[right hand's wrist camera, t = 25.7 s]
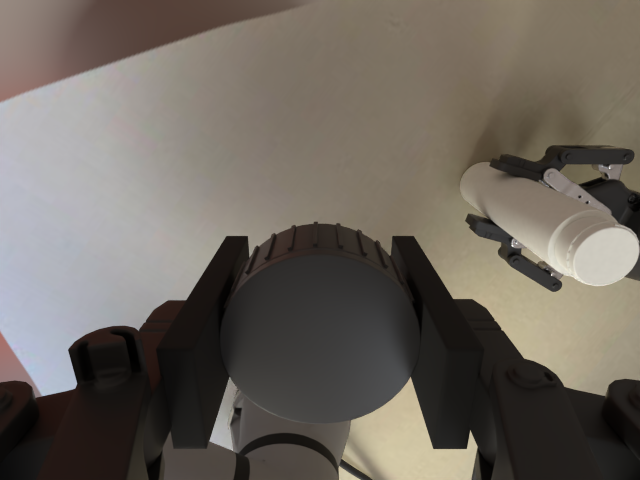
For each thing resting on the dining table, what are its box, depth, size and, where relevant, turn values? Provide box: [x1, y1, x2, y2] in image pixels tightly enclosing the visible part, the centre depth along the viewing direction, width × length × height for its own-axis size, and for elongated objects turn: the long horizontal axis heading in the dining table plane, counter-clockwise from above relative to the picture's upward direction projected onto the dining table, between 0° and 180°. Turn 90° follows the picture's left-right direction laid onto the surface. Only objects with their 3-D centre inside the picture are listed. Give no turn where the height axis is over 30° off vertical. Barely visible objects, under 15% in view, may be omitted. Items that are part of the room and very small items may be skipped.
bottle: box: [460, 162, 640, 286], centre depth 32 cm, size 5×5×19 cm
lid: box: [219, 222, 421, 424], centre depth 11 cm, size 5×5×2 cm
